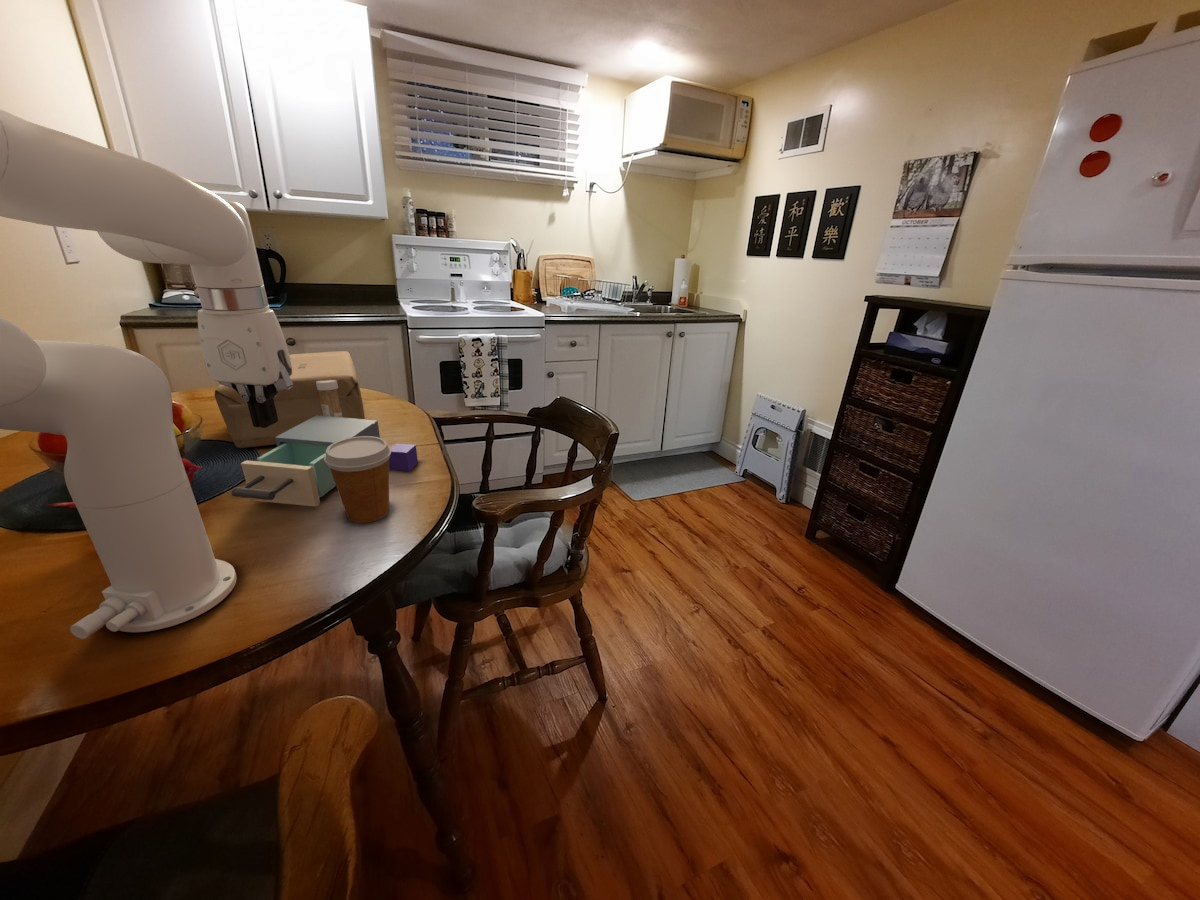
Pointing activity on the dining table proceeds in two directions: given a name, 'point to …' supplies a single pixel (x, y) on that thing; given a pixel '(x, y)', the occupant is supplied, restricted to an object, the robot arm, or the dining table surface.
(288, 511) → the dining table surface
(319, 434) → the drawer cabinet
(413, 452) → the cube
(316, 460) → the drawer
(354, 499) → the disposable coffee cup
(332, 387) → the sprinkles bottle
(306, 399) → the paper package
